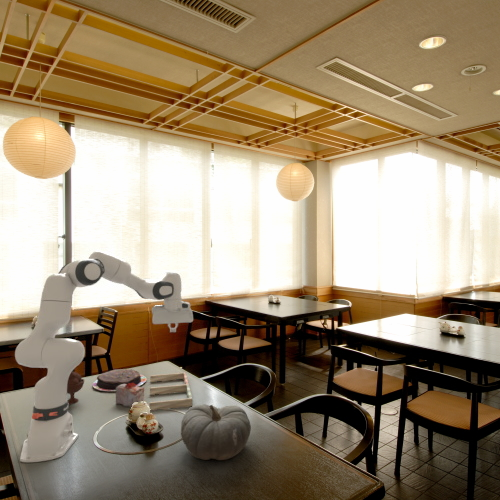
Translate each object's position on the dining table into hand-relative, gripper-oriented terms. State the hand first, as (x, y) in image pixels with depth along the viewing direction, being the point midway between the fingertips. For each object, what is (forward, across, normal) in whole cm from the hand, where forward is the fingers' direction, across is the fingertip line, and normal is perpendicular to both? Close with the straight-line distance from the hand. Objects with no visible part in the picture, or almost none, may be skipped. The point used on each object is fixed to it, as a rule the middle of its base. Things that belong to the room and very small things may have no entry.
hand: (173, 331), depth 197 cm
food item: (+31, -20, -9) cm, 38 cm away
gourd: (+31, +12, -61) cm, 69 cm away
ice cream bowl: (+31, -48, +1) cm, 57 cm away
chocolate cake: (+31, -28, +22) cm, 47 cm away
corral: (+31, -2, 0) cm, 31 cm away
